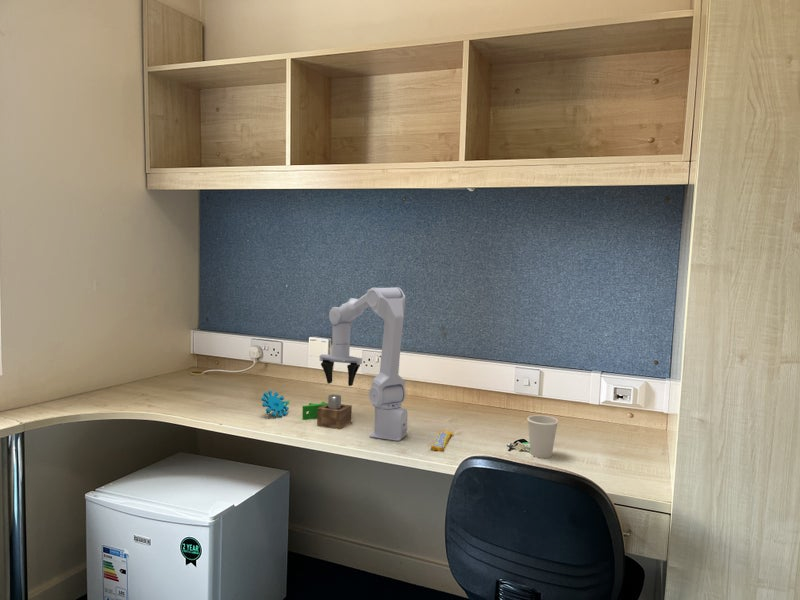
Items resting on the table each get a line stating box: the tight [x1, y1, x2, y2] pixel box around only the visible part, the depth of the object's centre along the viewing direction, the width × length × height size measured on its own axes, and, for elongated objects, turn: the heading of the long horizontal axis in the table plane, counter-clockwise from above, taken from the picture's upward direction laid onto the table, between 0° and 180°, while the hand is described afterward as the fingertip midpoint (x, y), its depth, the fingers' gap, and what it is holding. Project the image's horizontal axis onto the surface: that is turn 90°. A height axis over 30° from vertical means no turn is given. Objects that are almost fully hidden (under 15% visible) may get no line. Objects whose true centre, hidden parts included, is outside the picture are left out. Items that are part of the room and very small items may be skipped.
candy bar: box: [430, 430, 454, 452], centre depth 175 cm, size 17×4×2 cm, turn 166°
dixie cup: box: [526, 414, 559, 459], centre depth 166 cm, size 8×8×10 cm
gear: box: [260, 390, 291, 418], centre depth 199 cm, size 11×6×10 cm
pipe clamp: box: [301, 401, 328, 421], centre depth 197 cm, size 11×4×5 cm, turn 116°
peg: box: [327, 394, 342, 410], centre depth 189 cm, size 4×4×8 cm
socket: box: [316, 402, 353, 430], centre depth 190 cm, size 8×8×6 cm
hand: (340, 384), depth 199 cm, fingers open, 7 cm apart
